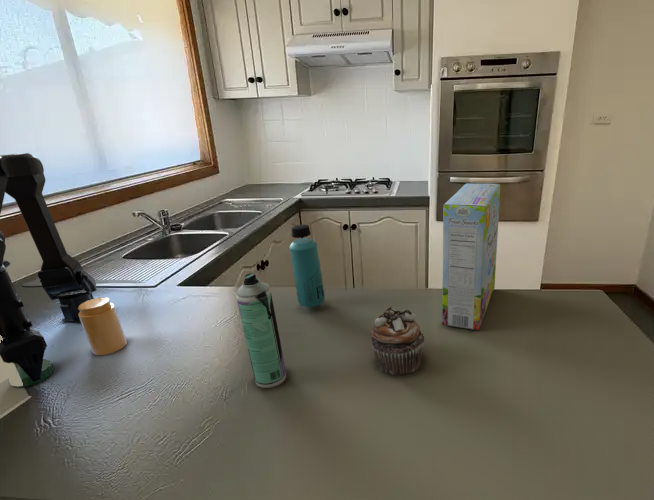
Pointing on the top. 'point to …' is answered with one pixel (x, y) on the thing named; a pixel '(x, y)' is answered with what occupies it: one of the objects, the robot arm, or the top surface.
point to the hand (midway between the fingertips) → (31, 371)
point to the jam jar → (102, 326)
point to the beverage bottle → (306, 268)
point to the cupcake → (397, 342)
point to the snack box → (469, 254)
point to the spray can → (261, 332)
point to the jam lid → (46, 372)
